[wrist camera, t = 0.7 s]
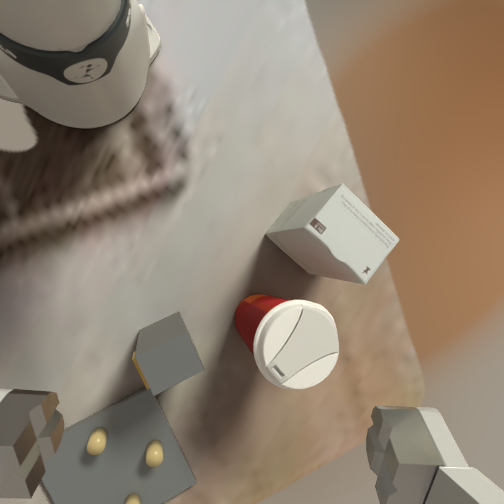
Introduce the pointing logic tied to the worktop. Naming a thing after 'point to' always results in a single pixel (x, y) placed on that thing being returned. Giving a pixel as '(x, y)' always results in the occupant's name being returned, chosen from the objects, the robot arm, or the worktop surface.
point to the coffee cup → (288, 339)
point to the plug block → (166, 354)
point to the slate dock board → (119, 457)
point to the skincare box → (333, 235)
